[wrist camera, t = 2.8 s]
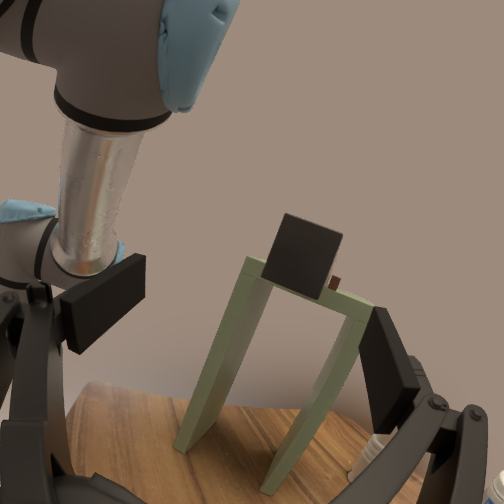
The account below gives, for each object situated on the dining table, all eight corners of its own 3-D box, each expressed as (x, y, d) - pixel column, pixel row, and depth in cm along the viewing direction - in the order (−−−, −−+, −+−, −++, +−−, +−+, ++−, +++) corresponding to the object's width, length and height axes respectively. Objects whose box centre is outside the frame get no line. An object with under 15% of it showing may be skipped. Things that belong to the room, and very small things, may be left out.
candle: (344, 485, 35) (391, 419, 35) (346, 464, 42) (387, 402, 41) (377, 494, 33) (427, 430, 32) (376, 473, 39) (418, 412, 39)
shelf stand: (172, 447, 35) (251, 243, 34) (205, 416, 46) (273, 251, 45) (271, 496, 30) (384, 295, 29) (286, 455, 42) (371, 290, 41)
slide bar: (259, 277, 16) (285, 212, 16) (303, 276, 38) (314, 249, 38) (317, 301, 15) (343, 233, 15) (327, 286, 37) (338, 258, 37)
